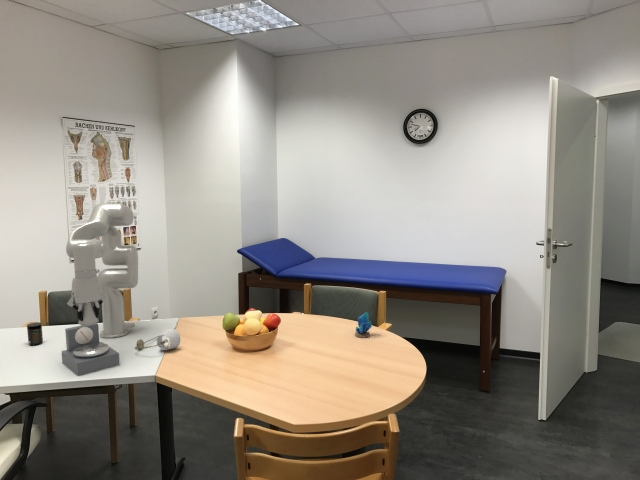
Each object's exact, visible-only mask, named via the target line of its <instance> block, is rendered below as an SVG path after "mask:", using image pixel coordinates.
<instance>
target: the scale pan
mask: <svg viewBox="0 0 640 480" xmlns="http://www.w3.org/2000/svg"><path fill="white" fill-rule="evenodd" d="M103 343H104V342H102V343H93V344H86V345H82V346H79V347H77V348H75V349H74V350H73V354H74V355H75V356H77V357H93V356H98V355H101V354H104V353H106V352H107V351H108V350H109V347H110V346H109V345H108V344H106V343H104V344H103Z"/></svg>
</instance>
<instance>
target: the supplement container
mask: <svg viewBox="0 0 640 480" xmlns="http://www.w3.org/2000/svg"><path fill="white" fill-rule="evenodd" d="M26 330H27V343H28V345H29V346H33V347H34V346H40V345H42V344H43V343H44V337H43V336H44V335H43V324H42V322H30V323H27V324H26Z"/></svg>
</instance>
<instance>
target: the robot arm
mask: <svg viewBox="0 0 640 480" xmlns="http://www.w3.org/2000/svg"><path fill="white" fill-rule="evenodd" d="M133 222H134V212H133V210H132V208H131V207H129V206H127V204H123V203H119V202H117V203H115V202H114V203H113V202H112V203H110V202H108V203H107V202H105V203H103V202H102V203H97V204H95V206H94V207H93V209H92V211H91V214H90V215H89V218H88V221H87V223H84V224H83V225H81V226H79V227H77V228H76V229H74V230H73V231H72V232H71V234H70V235H69V238H68V240H67V242H66V247H65V251H66V254H67V256H68V257H70V258H72V259H73V265H74V266H73V268H74V277H73V278H72V281H71V297H70V298H69V299H68V301H67V303H66V305H68V306H69V307H71V308H73V309H74V310H76V317H77V320H78V321H79V320H80V321H83V311H82V310H83V305H84V303H89V302H91V303H92V304H93V306H92V308H93V310H94V312H95V315H96V318H98V319H99V316H100V310H99V308H100V306H101V310H102V311H101V312H102V314H101V315H102V329H103V330H102V331H99V337H101V338H103V339H105V338H106V339H115V338H120V337H124V336H126V335H128V334H129V328H134V327H135V326H136V323H135V322H132V323H131V322H125V309H124V308H125V307H124V306H125V304H124V296H123V294H122V293H121V291H120V289H134V288H136V287H137V285H138V281H139V253H138V249H137V247H135V246H134V245H131V244H130V245H129V244H127V245H126V244H125V245H122V234H121V232H120V231H119V229H117V227H128V226H131V225H132V224H133ZM100 237H101V239H99V238H100ZM98 258H101V259H102V264H104V265H105V266H109V267H110V266H116V267H115V268H105V269H101V271H100V269H99V268H98V269H97V268H96V266H97V265H96V259H98ZM117 266H127V268H125V267H120V268H119V267H118V268H117ZM97 274H98V275H97ZM74 303H75V304H74Z"/></svg>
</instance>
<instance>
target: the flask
mask: <svg viewBox="0 0 640 480" xmlns="http://www.w3.org/2000/svg"><path fill="white" fill-rule="evenodd" d="M92 304H93V303H92V302H89V303H83V304H82V309H81V310H82V311H83V321H80V320H79V319H78V323H77V324H78V325H79V326H81V325H92V324H96V323H97V324H99V322H100V320H99V317H98V318H96V315H95V312H94V310H93V305H92Z"/></svg>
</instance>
